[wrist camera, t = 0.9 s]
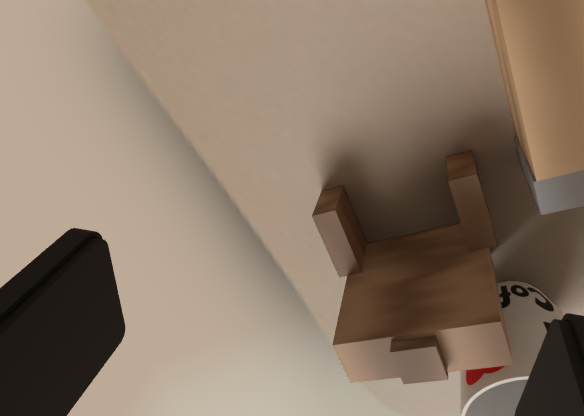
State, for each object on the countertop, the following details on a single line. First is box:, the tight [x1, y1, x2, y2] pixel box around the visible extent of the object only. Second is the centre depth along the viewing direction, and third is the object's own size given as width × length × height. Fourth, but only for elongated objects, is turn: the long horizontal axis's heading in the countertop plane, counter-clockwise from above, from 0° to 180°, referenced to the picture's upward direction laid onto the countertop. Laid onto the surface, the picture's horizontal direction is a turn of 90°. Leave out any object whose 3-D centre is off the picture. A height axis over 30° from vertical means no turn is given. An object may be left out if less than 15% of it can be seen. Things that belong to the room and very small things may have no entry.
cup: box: [460, 281, 564, 416], centre depth 31 cm, size 8×8×10 cm
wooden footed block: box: [312, 150, 514, 384], centre depth 29 cm, size 10×8×11 cm
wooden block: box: [485, 0, 584, 215], centre depth 24 cm, size 5×14×6 cm, turn 23°
